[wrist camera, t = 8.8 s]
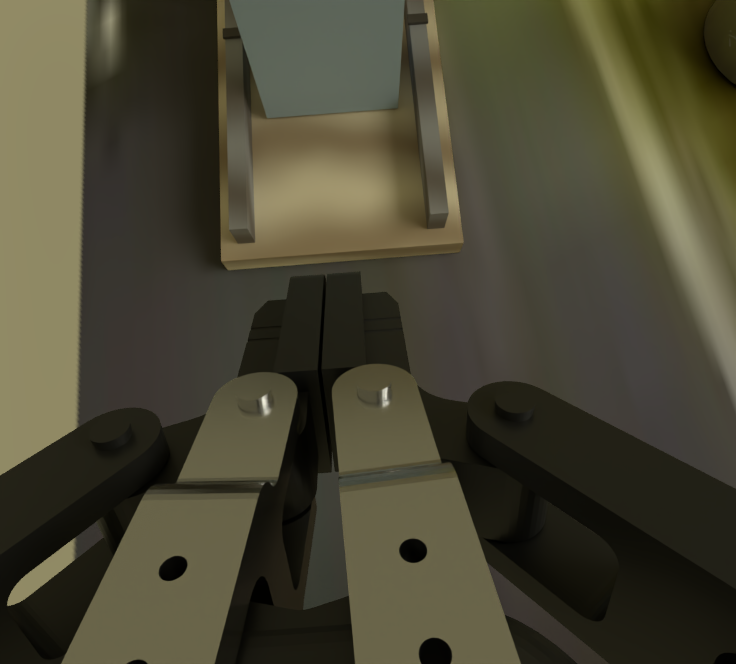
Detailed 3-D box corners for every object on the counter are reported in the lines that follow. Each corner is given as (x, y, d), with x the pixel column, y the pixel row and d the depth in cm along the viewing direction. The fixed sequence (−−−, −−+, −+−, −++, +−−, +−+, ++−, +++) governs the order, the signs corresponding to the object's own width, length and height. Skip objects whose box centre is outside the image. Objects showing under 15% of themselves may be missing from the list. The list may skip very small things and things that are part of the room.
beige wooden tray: (459, 252, 33) (469, 226, 29) (228, 270, 33) (209, 246, 29) (417, -91, 39) (422, -147, 35) (221, -76, 39) (205, -131, 35)
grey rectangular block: (398, 108, 33) (408, -60, 22) (267, 118, 33) (214, -45, 22) (390, 38, 34) (397, -153, 24) (264, 48, 34) (213, -139, 23)
